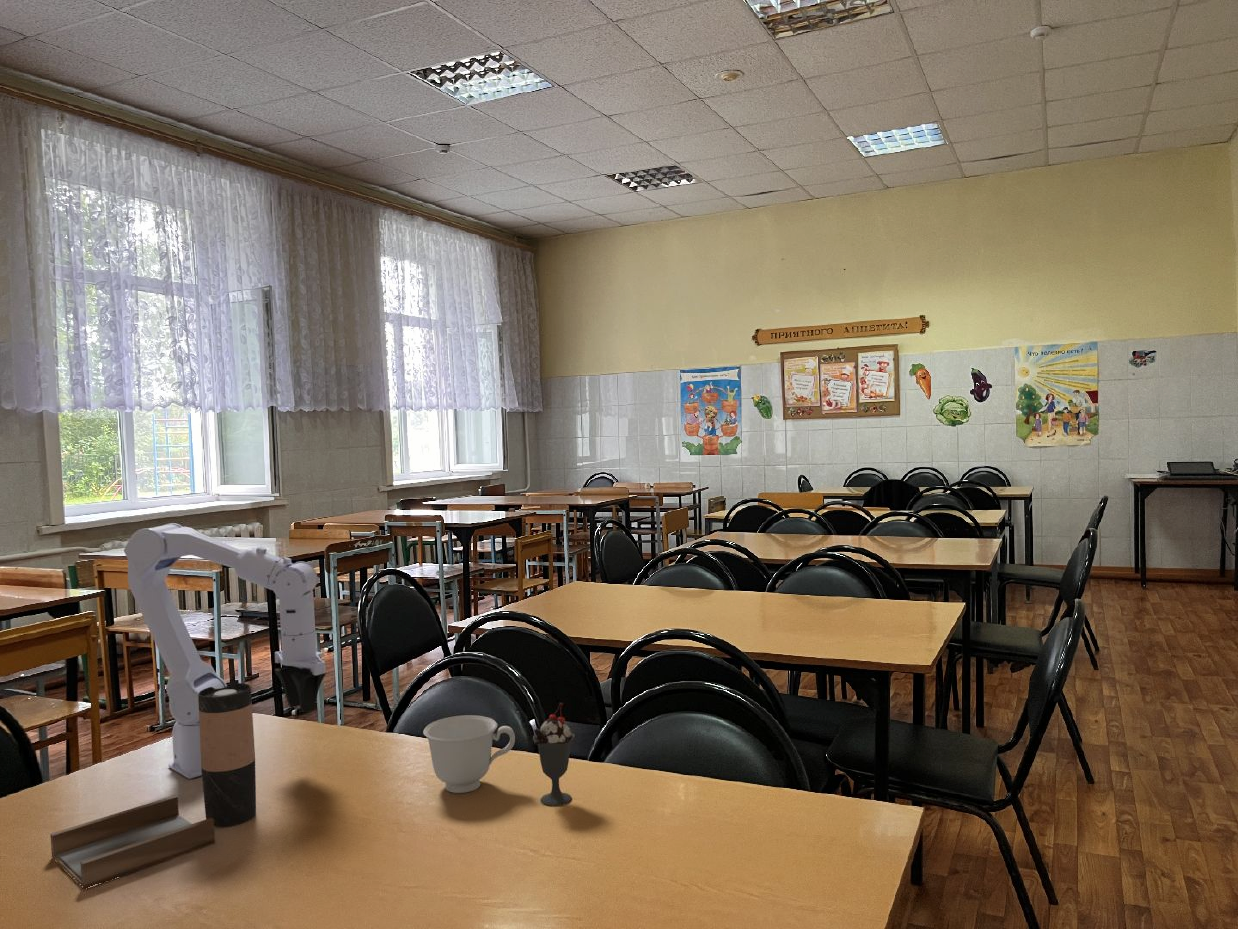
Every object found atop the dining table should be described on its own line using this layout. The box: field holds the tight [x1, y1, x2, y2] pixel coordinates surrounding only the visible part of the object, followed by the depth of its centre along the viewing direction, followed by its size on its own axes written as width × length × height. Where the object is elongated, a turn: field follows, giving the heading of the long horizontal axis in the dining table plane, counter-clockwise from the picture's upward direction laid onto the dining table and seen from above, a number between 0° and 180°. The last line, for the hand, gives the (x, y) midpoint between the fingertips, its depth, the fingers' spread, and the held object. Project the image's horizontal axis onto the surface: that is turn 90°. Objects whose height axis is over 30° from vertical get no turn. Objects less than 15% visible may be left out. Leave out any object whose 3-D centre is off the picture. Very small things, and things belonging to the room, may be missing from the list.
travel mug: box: [198, 682, 257, 828], centre depth 139 cm, size 8×8×20 cm
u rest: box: [50, 794, 216, 890], centre depth 129 cm, size 14×17×4 cm
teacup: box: [422, 714, 516, 794], centre depth 148 cm, size 12×15×10 cm
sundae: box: [532, 702, 576, 807], centre depth 142 cm, size 7×7×15 cm
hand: (301, 708), depth 160 cm, fingers open, 4 cm apart
